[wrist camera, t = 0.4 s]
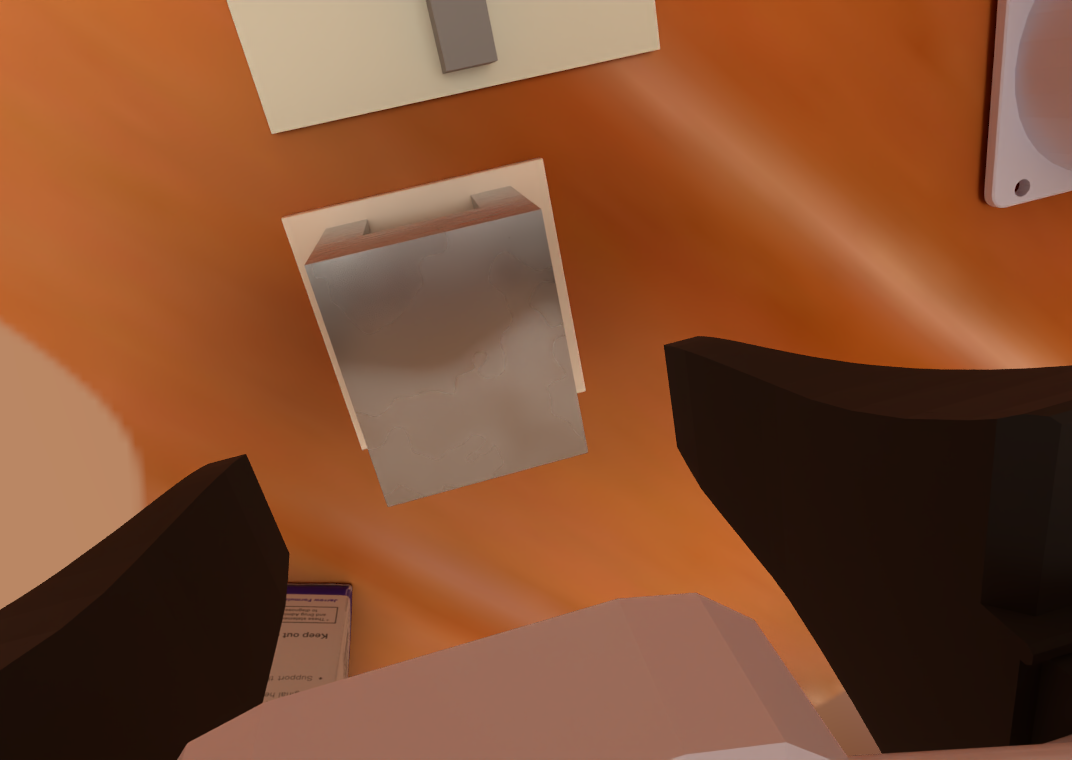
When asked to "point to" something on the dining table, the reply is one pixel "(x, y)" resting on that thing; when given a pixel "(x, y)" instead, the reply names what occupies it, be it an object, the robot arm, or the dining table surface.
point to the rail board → (421, 48)
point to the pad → (421, 207)
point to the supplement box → (311, 639)
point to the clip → (451, 344)
